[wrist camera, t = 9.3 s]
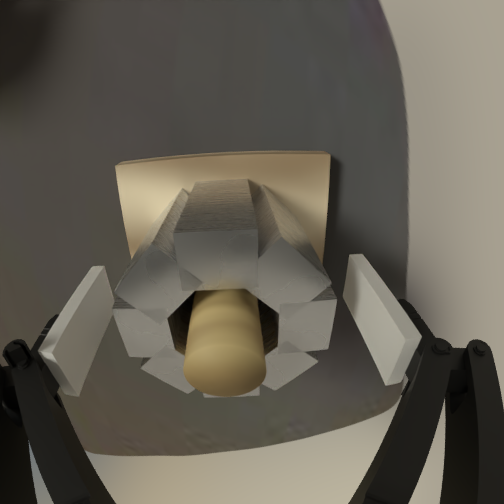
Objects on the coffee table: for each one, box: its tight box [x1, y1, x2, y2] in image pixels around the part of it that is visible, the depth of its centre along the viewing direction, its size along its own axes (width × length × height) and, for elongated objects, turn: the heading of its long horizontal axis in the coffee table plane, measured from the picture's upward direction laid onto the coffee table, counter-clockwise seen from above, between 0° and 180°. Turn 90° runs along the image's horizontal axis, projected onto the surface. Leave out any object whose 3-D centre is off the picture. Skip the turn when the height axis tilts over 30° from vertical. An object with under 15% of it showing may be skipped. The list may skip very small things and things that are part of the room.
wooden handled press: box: [115, 151, 330, 397], centre depth 15 cm, size 12×12×10 cm
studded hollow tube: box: [112, 179, 337, 397], centre depth 15 cm, size 9×9×7 cm
